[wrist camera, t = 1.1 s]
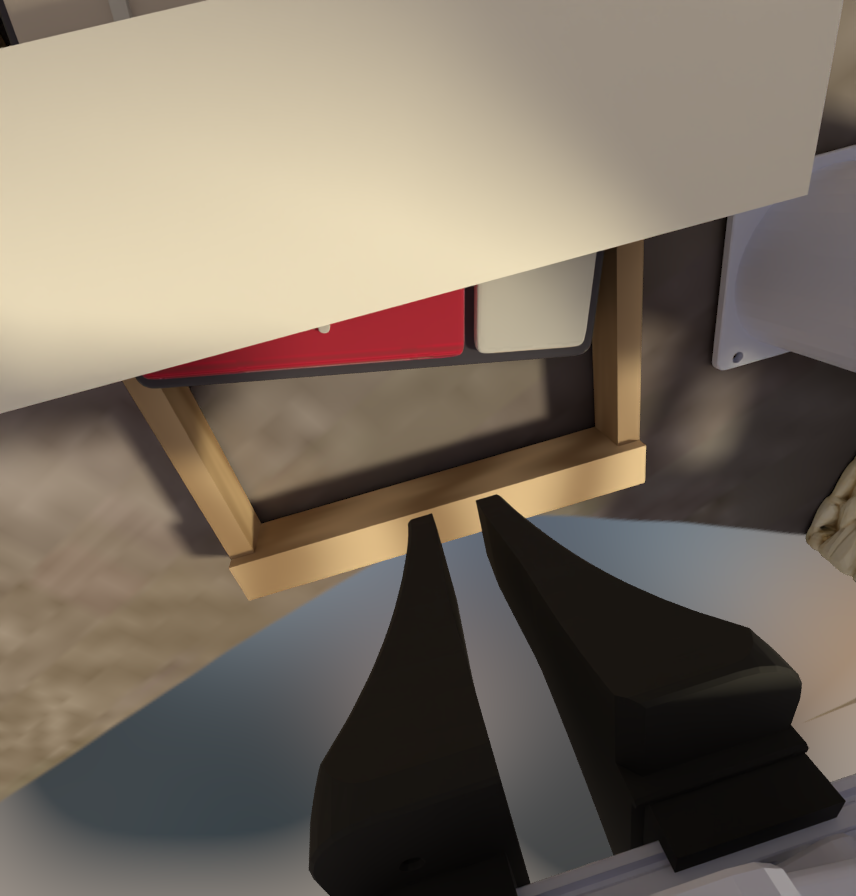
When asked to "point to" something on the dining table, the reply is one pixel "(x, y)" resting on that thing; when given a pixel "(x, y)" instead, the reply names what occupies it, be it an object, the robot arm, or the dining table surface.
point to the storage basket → (837, 524)
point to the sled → (443, 494)
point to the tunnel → (367, 160)
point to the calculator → (383, 332)
